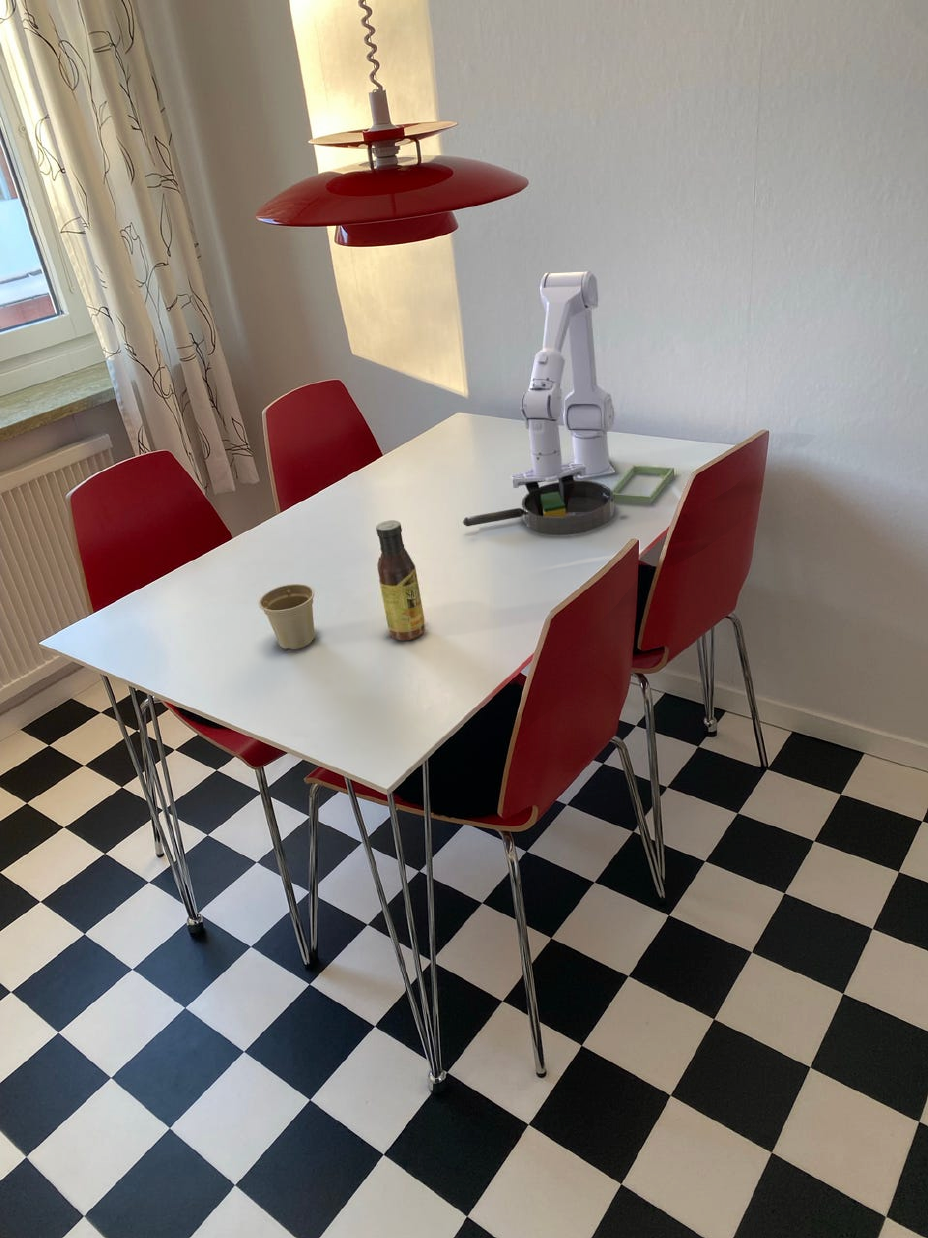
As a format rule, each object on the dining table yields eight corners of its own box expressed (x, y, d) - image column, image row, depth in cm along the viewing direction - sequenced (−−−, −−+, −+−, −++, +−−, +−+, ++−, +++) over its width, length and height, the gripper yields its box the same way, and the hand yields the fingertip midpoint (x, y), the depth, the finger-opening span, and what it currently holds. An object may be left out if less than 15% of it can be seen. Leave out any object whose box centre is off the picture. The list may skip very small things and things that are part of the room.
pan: (517, 507, 204) (514, 489, 202) (601, 492, 205) (600, 474, 203) (532, 543, 189) (530, 524, 187) (624, 526, 189) (623, 507, 187)
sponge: (539, 512, 199) (537, 494, 198) (559, 508, 200) (557, 491, 198) (546, 526, 193) (544, 508, 191) (566, 522, 194) (565, 504, 192)
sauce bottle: (421, 642, 163) (401, 534, 153) (385, 642, 164) (363, 535, 154) (430, 621, 168) (411, 516, 158) (395, 622, 170) (374, 517, 160)
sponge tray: (633, 473, 211) (633, 465, 210) (674, 476, 207) (674, 467, 206) (608, 502, 200) (607, 493, 199) (651, 505, 196) (650, 497, 195)
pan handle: (523, 514, 196) (522, 505, 195) (524, 517, 195) (523, 509, 194) (463, 524, 196) (461, 516, 195) (464, 528, 194) (463, 520, 193)
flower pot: (299, 621, 175) (288, 578, 170) (336, 634, 169) (325, 590, 165) (259, 646, 169) (247, 603, 165) (295, 660, 163) (283, 616, 159)
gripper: (512, 463, 186) (520, 528, 192) (587, 450, 186) (592, 515, 193) (506, 450, 192) (514, 514, 198) (579, 438, 192) (584, 501, 199)
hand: (552, 513), depth 196 cm, fingers closed on sponge, 4 cm apart
